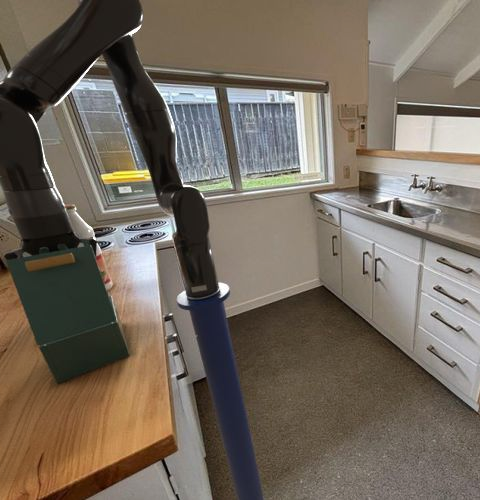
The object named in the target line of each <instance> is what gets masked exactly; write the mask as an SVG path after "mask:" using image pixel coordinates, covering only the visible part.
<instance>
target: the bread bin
mask: <svg viewBox="0 0 480 500" xmlns="http://www.w3.org/2000/svg"><path fill="white" fill-rule="evenodd" d="M108 296H109V295H108ZM109 299H110V302H111V305H112V308H113V310H114V313H115V316H116V319H117V320H116V321H114V322H110V323H107V324H104V325H101V326H98V327H95V328H92V329H89V330H86V331H83V332H79V333H76V334H73V335H70V336H67V337H64V338H61V339H58V340H55V341H52V342H48V343H45V344H42V345H39V347H38V348H39V350H40V353H41V355H42V357H43V359H44V361H45V362H46V365H47V366H48V369H49V370H50V372H51V374H52V377H53V378H54V380H55V382H56V385H57V384H61V383H63V382H66V381H68V380H71V379H73V378H76V377H78V376H82V375H84V374H86V373H89V372H91V371H93V370H96V369H99V368H102V367H104V366H107V365H109V364H111V363H114V362H117V361H120V360H121V359H124V358H127V357H129V356H130V352H129V348H128V343H127V340H126V335H125V331H124V327H123V324H122V321H121V318H120V315H119V312H118V310H117V307H116V304H115V302H114V298H113V296H112V295H110V296H109Z"/></svg>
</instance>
